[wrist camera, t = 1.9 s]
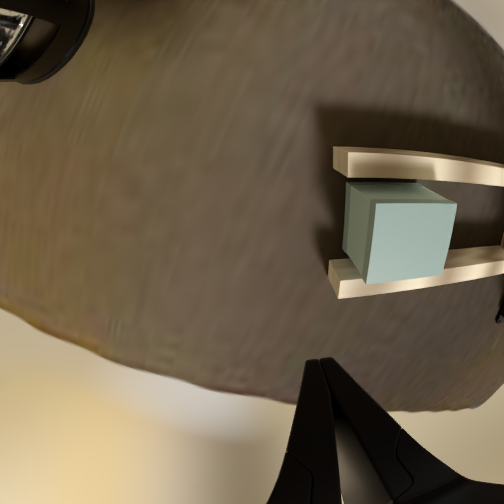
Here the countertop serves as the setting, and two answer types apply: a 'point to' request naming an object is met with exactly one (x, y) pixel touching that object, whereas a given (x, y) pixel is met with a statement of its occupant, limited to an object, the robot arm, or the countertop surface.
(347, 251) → the pale teal block
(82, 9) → the french press
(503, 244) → the front stop
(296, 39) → the countertop surface
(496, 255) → the lane
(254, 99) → the countertop surface
